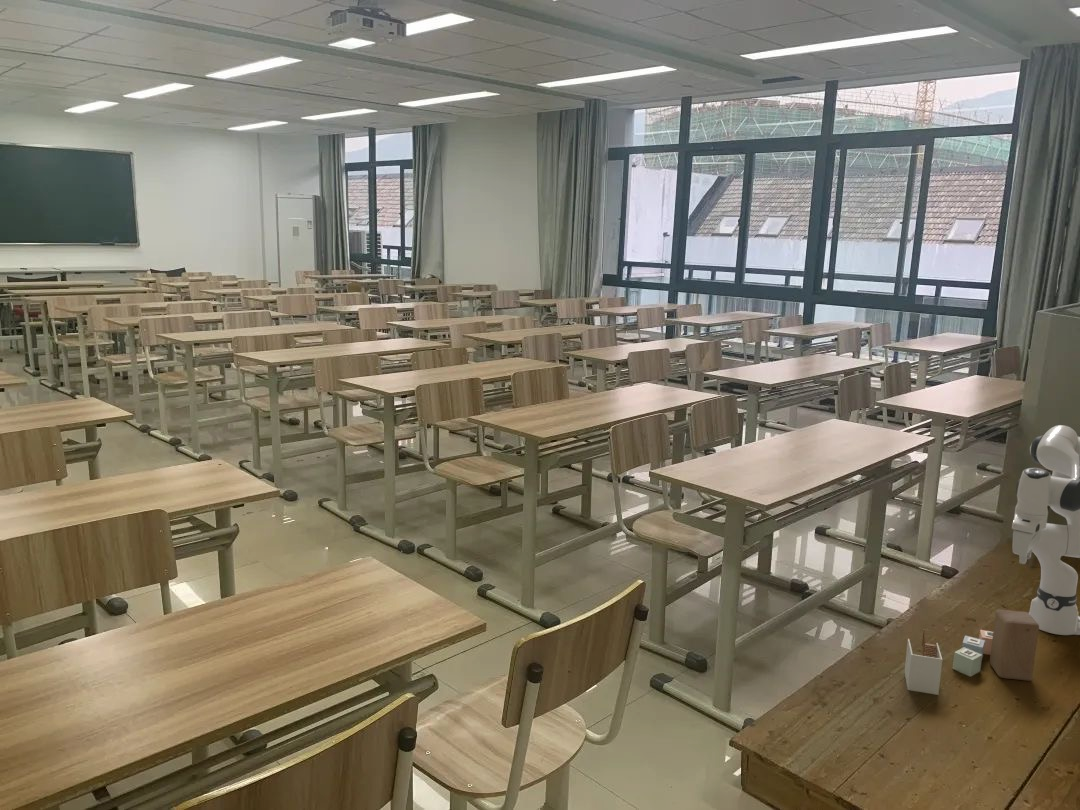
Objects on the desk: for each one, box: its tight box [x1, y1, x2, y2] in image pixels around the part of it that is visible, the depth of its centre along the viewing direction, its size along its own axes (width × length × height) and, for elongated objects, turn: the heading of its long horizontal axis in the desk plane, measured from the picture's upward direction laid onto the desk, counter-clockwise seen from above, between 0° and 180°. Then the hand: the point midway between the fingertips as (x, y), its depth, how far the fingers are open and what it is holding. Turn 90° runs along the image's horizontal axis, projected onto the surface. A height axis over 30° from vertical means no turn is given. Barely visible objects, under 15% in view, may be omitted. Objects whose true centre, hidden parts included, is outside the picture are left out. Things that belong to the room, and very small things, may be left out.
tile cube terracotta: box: [978, 629, 993, 656], centre depth 272 cm, size 6×6×6 cm
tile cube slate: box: [961, 635, 985, 659], centre depth 267 cm, size 6×6×6 cm
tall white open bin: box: [904, 628, 943, 696], centre depth 250 cm, size 9×11×17 cm
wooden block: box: [989, 609, 1040, 681], centre depth 257 cm, size 10×10×20 cm
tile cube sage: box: [952, 647, 983, 677], centre depth 259 cm, size 6×6×6 cm
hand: (1024, 560), depth 251 cm, fingers open, 4 cm apart
